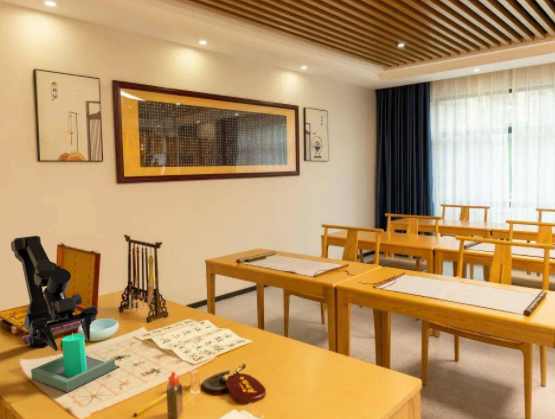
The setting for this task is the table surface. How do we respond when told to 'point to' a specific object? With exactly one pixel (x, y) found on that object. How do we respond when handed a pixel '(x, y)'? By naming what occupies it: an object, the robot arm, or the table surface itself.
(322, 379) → the table surface
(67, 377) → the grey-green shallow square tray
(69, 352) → the candle
